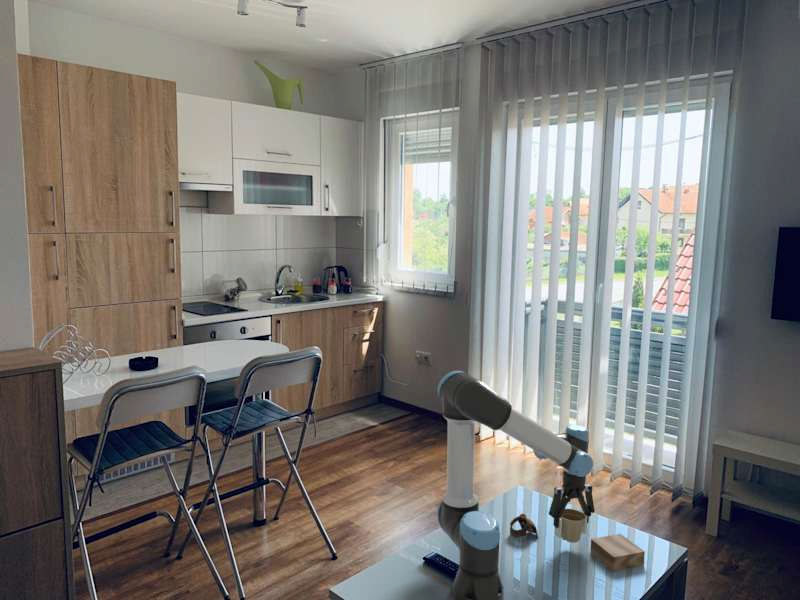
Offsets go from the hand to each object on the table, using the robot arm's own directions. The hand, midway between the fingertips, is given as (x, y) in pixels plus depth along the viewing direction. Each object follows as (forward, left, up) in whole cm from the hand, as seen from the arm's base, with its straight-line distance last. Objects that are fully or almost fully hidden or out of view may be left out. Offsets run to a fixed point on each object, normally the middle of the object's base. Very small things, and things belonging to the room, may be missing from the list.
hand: (570, 533), depth 204 cm
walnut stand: (+12, -10, -6) cm, 16 cm away
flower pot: (0, 0, -2) cm, 2 cm away
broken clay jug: (-10, +13, -6) cm, 18 cm away
